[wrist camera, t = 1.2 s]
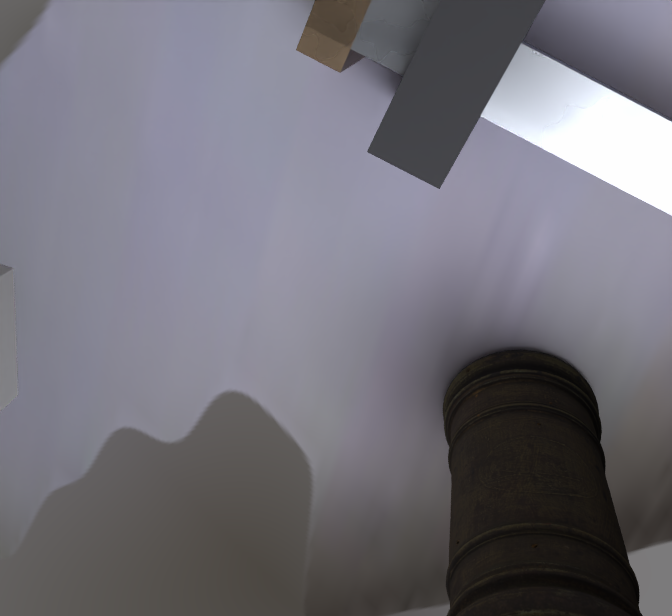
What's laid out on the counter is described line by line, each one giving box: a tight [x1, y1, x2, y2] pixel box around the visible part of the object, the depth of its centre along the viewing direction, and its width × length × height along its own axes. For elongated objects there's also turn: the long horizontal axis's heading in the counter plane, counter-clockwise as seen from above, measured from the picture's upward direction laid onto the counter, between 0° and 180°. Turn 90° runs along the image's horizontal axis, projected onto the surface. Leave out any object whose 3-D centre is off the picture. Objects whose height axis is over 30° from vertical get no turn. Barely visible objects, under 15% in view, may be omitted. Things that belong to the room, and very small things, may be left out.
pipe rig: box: [296, 0, 672, 215], centre depth 28 cm, size 30×9×7 cm, turn 66°
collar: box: [367, 0, 545, 189], centre depth 25 cm, size 3×8×9 cm, turn 155°
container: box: [443, 350, 642, 616], centre depth 31 cm, size 9×9×18 cm
